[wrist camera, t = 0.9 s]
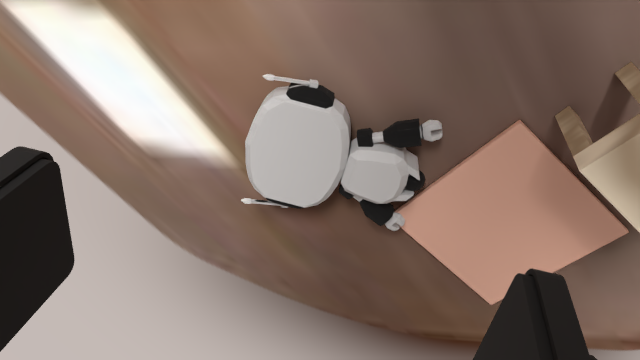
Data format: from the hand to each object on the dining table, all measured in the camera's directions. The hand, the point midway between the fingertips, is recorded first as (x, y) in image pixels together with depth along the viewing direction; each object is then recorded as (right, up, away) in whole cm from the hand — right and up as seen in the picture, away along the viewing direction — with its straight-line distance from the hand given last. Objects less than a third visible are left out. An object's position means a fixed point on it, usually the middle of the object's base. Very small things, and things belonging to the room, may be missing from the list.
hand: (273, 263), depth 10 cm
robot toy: (+3, +5, +33) cm, 34 cm away
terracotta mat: (+17, -2, +34) cm, 38 cm away
